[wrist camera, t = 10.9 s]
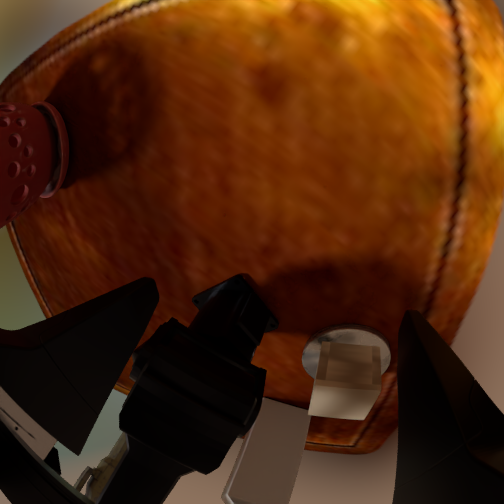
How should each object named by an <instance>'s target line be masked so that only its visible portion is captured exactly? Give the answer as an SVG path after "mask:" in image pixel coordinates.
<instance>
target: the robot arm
mask: <svg viewBox="0 0 504 504" xmlns="http://www.w3.org/2000/svg"><path fill="white" fill-rule="evenodd" d="M237 280H239V281H240V282H238V281H237ZM197 300H198V301H197ZM158 302H159V293H158V289H157V286H156V283H155V280H154V279H153V278H148V277H143V278H140V279H138V280H136V281H133V282H131V283H129V284H126V285H124V286H122V287H119V288H117V289H115V290H112V291H110V292H108V293H105V294H103V295H101V296H98V297H96V298H94V299H92V300H89V301H87V302H85V303H83V304H80V305H78V306H76V307H73V308H71V309H70V310H67V311H64V312H62V313H60V314H58V315H55V316H53V317H50V318H48V319H46V320H43V321H40V322H38V323H35V324H32V325H30V326H27V327H24V328H22V329H19V330H12V331H11V330H4V329H1V328H0V489H1V491H2V492H3V493H4V495H5V496H6V497H7V499H8V500H9V501H10V502H11V503H12V504H163V502H164V501H165V499H166V498H167V496H168V495H169V493H170V492H171V491H172V489H173V488H174V486H175V485H176V483H177V482H178V480H179V479H180V477H181V476H184V475H187V474H189V473H192V472H194V471H198V472H200V473H202V474H205V475H207V474H209V473H210V472H212V471H214V470H215V469H217V468H218V467H219V466H220V465H221V463H222V461H223V459H224V458H225V456H226V454H227V452H228V451H229V449H230V447H231V446H232V444H233V443H234V441H235V440H236V438H237V437H238V438H241V437H243V436H244V435H245V434H246V433H247V432H248V431H249V430H250V429H251V427H252V426H253V424H254V422H255V420H256V419H257V417H258V414H259V412H260V409H261V405H262V400H263V393H264V386H265V379H266V372H267V370H265V369H263V368H259V367H257V366H255V365H253V364H251V361H252V358H253V355H254V353H255V350H256V348H257V346H259V345H260V343H261V340H262V337H263V335H264V333H265V332H269V331H272V330H275V329H277V328H278V325H279V322H278V320H277V319H276V318H275V317H274V316H273V314H272V313H271V311H270V310H269V309H268V308H267V306H266V305H265V304H264V303H263V301H262V300H261V299H260V298H259V296H258V295H257V294H256V293H255V292H254V291H253V289H252V288H251V287H250V286H249V284H248V283H247V282H246V281H245V279H244V278H243V277H242V276H240V275H235V276H233V277H231V278H229V279H227V280H225V281H223V282H221V283H219V284H217V285H215V286H213V287H211V288H209V289H207V290H205V291H203V292H201V293H199V294H197V295H195V296H194V297H193V298H192V302H193V303H194V304H195V306H196V307H197V308H198V309H199V310H200V311H199V312H198V314H197V315H196V317H195V318H194V320H193V321H192V323H191V324H190V326H189V327H188V328H187V327H186V326H184V325H183V324H181V323H179V322H178V320H177V319H175V318H173V317H172V318H171V319H170V320H169V321H168V322H165V323H164V324H163V325H160V326H159V328H158V329H157V330H156V331H155V333H154V334H153V335H152V336H151V338H150V339H148V340H147V341H146V342H144V343H143V344H142V345H140V346H139V347H138V348H137V349H135V348H136V346H137V344H138V343H139V341H140V339H141V337H142V336H143V334H144V332H145V330H146V328H147V326H148V323H149V321H150V319H151V317H152V315H153V312H154V310H155V308H156V306H157V304H158ZM273 324H275V325H273ZM134 349H135V351H134ZM133 351H134V352H133ZM132 353H133V354H132ZM131 355H132V358H133V362H134V364H133V366H132V371H131V373H130V379H132V380H133V381H135V384H134V385H133V387H132V389H131V391H130V393H129V394H128V396H127V398H126V400H125V402H124V404H123V406H122V410H121V412H120V414H119V428H120V430H121V431H123V432H124V433H125V437H126V443H127V449H126V451H125V452H124V454H123V456H122V457H121V459H120V461H119V463H118V464H117V466H116V468H115V470H114V471H113V473H112V475H111V476H110V478H109V480H108V482H107V483H106V485H105V487H104V489H103V490H102V492H101V494H100V496H99V497H98V499H97V501H96V503H94V502H93V501H91V500H90V499H88V498H87V497H86V496H84V495H83V494H82V493H80V492H79V491H78V490H77V489H75V488H74V487H73V486H71V485H70V484H69V483H68V482H67V481H65V480H64V479H63V478H62V477H61V476H60V475H61V469H60V463H59V456H58V450H57V449H56V448H55V447H54V445H55V443H56V442H57V441H59V442H60V443H61V444H63V445H64V446H65V447H66V448H68V449H69V450H71V451H72V452H73V453H75V454H76V455H77V456H79V454H80V453H81V451H82V449H83V447H84V445H85V443H86V441H87V438H88V436H89V434H90V432H91V430H92V428H93V426H94V424H95V422H96V420H97V418H98V416H99V414H100V412H101V410H102V408H103V406H104V404H105V402H106V400H107V399H108V397H109V395H110V393H111V391H112V389H113V387H114V386H115V384H116V382H117V380H118V378H119V376H120V375H121V373H122V371H123V369H124V367H125V365H126V364H127V362H128V360H129V358H130V357H131ZM397 384H398V453H397V454H398V455H397V468H396V479H395V490H394V496H393V503H392V504H504V414H503V413H502V412H501V411H500V410H499V408H498V407H497V406H496V405H495V404H494V403H493V401H492V400H491V399H490V398H489V397H488V395H487V394H486V393H485V391H484V390H483V388H482V387H481V386H480V384H479V383H478V382H477V380H474V377H473V375H472V374H471V373H470V371H469V370H468V369H467V368H466V367H465V366H464V364H463V363H462V361H461V360H460V359H459V358H458V356H457V355H456V354H455V353H454V351H453V350H452V349H451V348H450V347H449V345H448V344H447V343H446V342H445V341H444V339H443V338H442V337H441V336H440V335H439V334H438V332H437V331H436V330H435V329H434V328H433V327H432V326H431V324H430V323H429V322H428V321H427V320H426V319H425V318H424V317H423V315H422V314H421V313H420V312H419V311H417V310H407V311H406V312H405V314H404V317H403V320H402V323H401V325H400V328H399V332H398V365H397Z"/></svg>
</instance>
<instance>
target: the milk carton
mask: <svg viewBox="0 0 504 504" xmlns="http://www.w3.org/2000/svg"><path fill="white" fill-rule="evenodd" d="M308 411H309V410H305V409H301V408H298V407H294V406H291V405H287V404H284V403H281V402H277V401H274V400H271V399H268V398H265V397H263V400H262V405H261V409H260V412H259V414H258V417H257V419H256V420H255V422H254V424H253V426H252V427H251V429H250V430H249V431H248V432H247V433H246V436H245V438H244V441H243V443H242V446H241V449H240V451H239V454H238V456H237V459H236V461H235V464H234V467H233V469H232V471H231V474H230V476H229V479H228V481H227V484H226V486H225V488H224V491H223V493H222V496H221V498H222V500H223V501H224V503H225V504H288V503H289V501H290V497H291V494H292V491H293V487H294V484H295V480H296V477H297V473H298V469H299V465H300V461H301V458H302V454H303V450H304V446H305V442H306V437H307V433H308V428H309V424H310V419H311V415H308Z"/></svg>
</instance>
